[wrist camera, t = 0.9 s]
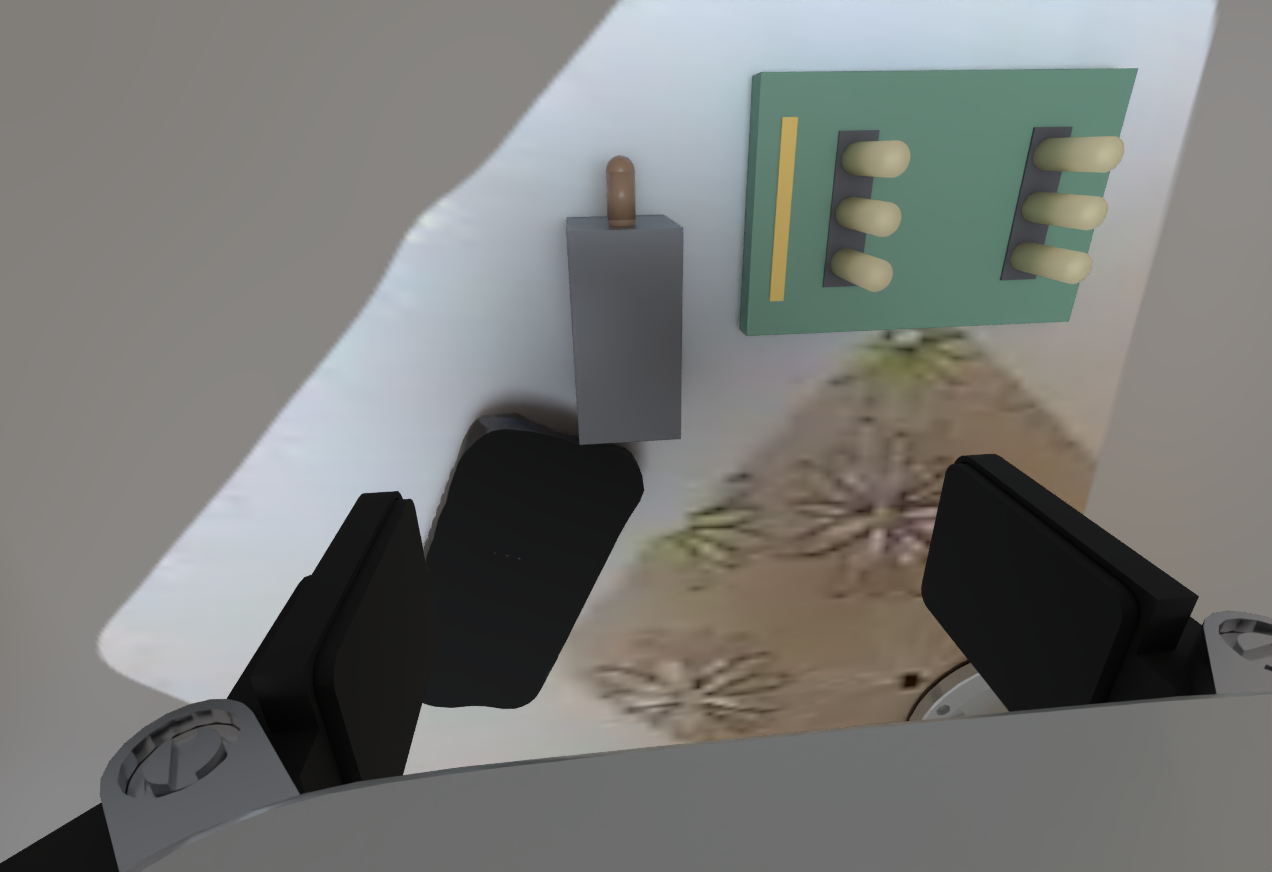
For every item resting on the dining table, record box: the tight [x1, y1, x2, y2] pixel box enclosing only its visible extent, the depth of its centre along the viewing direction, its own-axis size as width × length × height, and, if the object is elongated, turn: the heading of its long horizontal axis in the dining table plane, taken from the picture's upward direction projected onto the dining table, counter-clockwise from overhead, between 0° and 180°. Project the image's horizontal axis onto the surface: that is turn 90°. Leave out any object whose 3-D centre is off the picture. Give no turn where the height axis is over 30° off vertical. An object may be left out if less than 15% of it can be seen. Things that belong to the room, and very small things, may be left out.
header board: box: [740, 68, 1138, 336], centre depth 25 cm, size 10×15×4 cm, turn 91°
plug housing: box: [566, 156, 683, 445], centre depth 25 cm, size 10×4×5 cm, turn 1°
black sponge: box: [422, 413, 644, 709], centre depth 31 cm, size 16×8×4 cm, turn 156°
